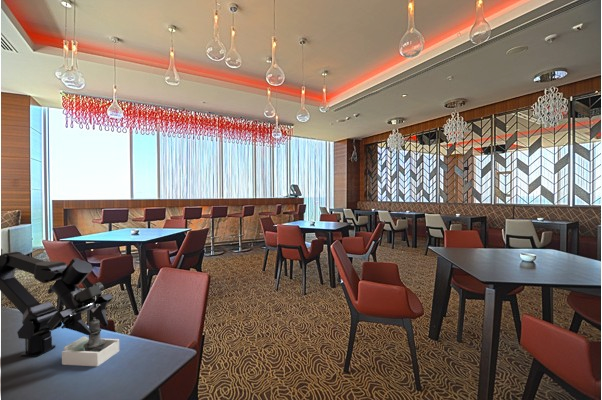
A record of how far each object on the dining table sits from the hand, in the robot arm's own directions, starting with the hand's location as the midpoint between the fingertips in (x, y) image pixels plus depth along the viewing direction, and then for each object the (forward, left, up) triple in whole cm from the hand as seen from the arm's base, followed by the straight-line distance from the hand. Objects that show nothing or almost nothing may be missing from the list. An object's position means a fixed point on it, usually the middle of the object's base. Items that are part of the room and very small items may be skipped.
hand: (98, 329), depth 92 cm
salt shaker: (-2, 0, -8) cm, 8 cm away
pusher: (-6, 0, -8) cm, 10 cm away
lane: (-3, 0, -9) cm, 9 cm away
